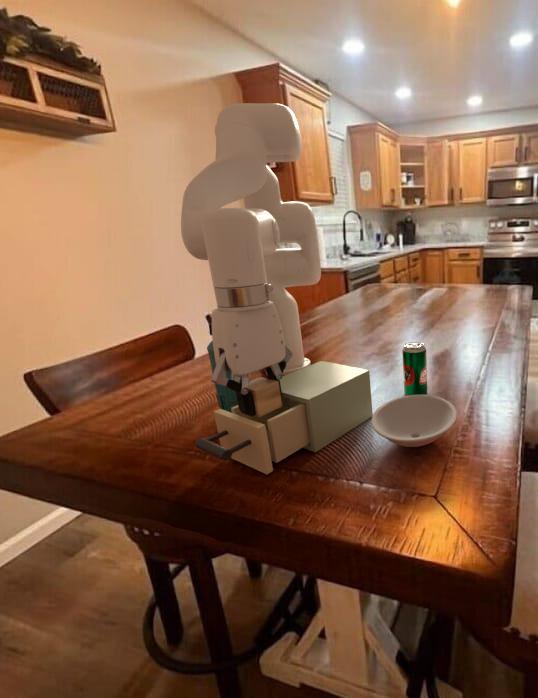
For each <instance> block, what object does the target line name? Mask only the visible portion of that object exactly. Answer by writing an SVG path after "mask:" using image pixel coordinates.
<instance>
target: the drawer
mask: <svg viewBox="0 0 538 698" xmlns="http://www.w3.org/2000/svg"><path fill="white" fill-rule="evenodd" d="M282 401H283V402H282V407H280V408H278V409H276V410H274V411H272V412H270V413H268V414H266V415H264V416H261V417H258V416H253V417H251V416H249V415H246V414H243V413H241V411H240V410H239V407H238V405H237V406H234V407H232V408H231V410H232V413H230V412H228V411H225V410H222V409H219V408H218V409H215V410H213V416H214V421H215V425H216V430H217V433H216V434H213V435H211V436H210V437H207V438H204V437H199V438H198V439H196V441H195V443H194V444H195V445H194V446H195V447H196V448H197V449H198V450H201V451H203V452H206V453H207V454H210V455H212V456H213V457H215V458H218V459H220V460H222V461H229V460H230V459H232V460H235V461H237V462H238V463H241V464H243V465H245V466H248V467H249V468H251V469H253V470H256V471H258V472H261V473H262V474H265V475H269V474H270V473H272V472H273V471H274V467H273V463H272V462H274V463H276V464H278V463H279V462H281V461H282V460H284V459H286V458H287V457H289V456H291V455H292V454H295V453H296V452H297V451H299V450H301V449H303V448H302V447H304V446H306V445H307V444H309V443H311V441H310V433H309V426H308V418H307V410H306V404H305V403H302V402H298V401H295V400H291V399H288V398H285V397H282ZM216 440H219V444H218V443H215V441H216Z"/></svg>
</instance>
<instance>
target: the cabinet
mask: <svg viewBox="0 0 538 698" xmlns="http://www.w3.org/2000/svg"><path fill="white" fill-rule="evenodd" d="M280 385H281V391H282V397H285V398H288V399H291V400H295V401H298V402H302V403H305V404H306V410H307V418H308V426H309V433H310V441H311V443H309V444H307V445H306V446H304V447H302V448H301V449H305V450H308V451H311V452H313V453H317V452H318V451H320V450H322V449H323V448H325V447H327V446H328V445H329V444H331V443H333V442H335V441H336V440H337V439H339V438H340V437H342V436H344V435H346V434H347V433H349V432H351V430H353V429H355V428H356V427H358V426H359V425H361V424H363V423H364V422H366V421H367V420H369V419H370V418H372V417H373V414H374V413H373V403H372V402H373V401H372V390H371V389H372V388H371V376H370V369H364V368H362V367H361V368H360V367H355V366H350V365H346V364H341V363H335V362H329V361H326V360H325V361H324V360H320V361H317V362H316V363H312V364H311V365H310V366H307V367H305V368H302V369H300V370H297V371H295V372H292V373H290V374H287V375H283V377H282V379H281V380H280Z"/></svg>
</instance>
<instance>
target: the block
mask: <svg viewBox="0 0 538 698" xmlns="http://www.w3.org/2000/svg"><path fill="white" fill-rule="evenodd" d="M249 392H252V394H253V399H254V404H255V410H256V415H255V416H258V417H261V416H264V415H266V414H268V413H270V412H272V411H274V410H276V409H278V408H280V407H282V401H281V395H280V388H279V382H278V381H275V380H271V379H267V377H264V376H259V377H256V378H254V379H252V380H249Z"/></svg>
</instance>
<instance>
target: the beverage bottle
mask: <svg viewBox="0 0 538 698" xmlns="http://www.w3.org/2000/svg"><path fill="white" fill-rule="evenodd" d="M208 329H209V332H208V333H209V335H210V336H212V322H211V323H209V324H208ZM206 350H207V353H208V358H209V363H210V368H211V373H212V374H213V373H214V370H215V368H216V362H215V356H214V349H213V339H211V341H210V342H209V343H208V345H207V347H206ZM231 375H232V371H229V372H227V373H226V377H227V378H229V379H231ZM240 378H241V377H240ZM213 385H214V388H215V391H216V392H215V393H216V394H215V395H216V399H217V403H218V409H222V410H225V411H228V412H230V413H232V410H231V408H232V407H234V406H237V405H238V402H237V397H236V392H234V391H232V390H231V389H229V388H227V387H225V386H223V385H220V384H217V383H214V384H213Z"/></svg>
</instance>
